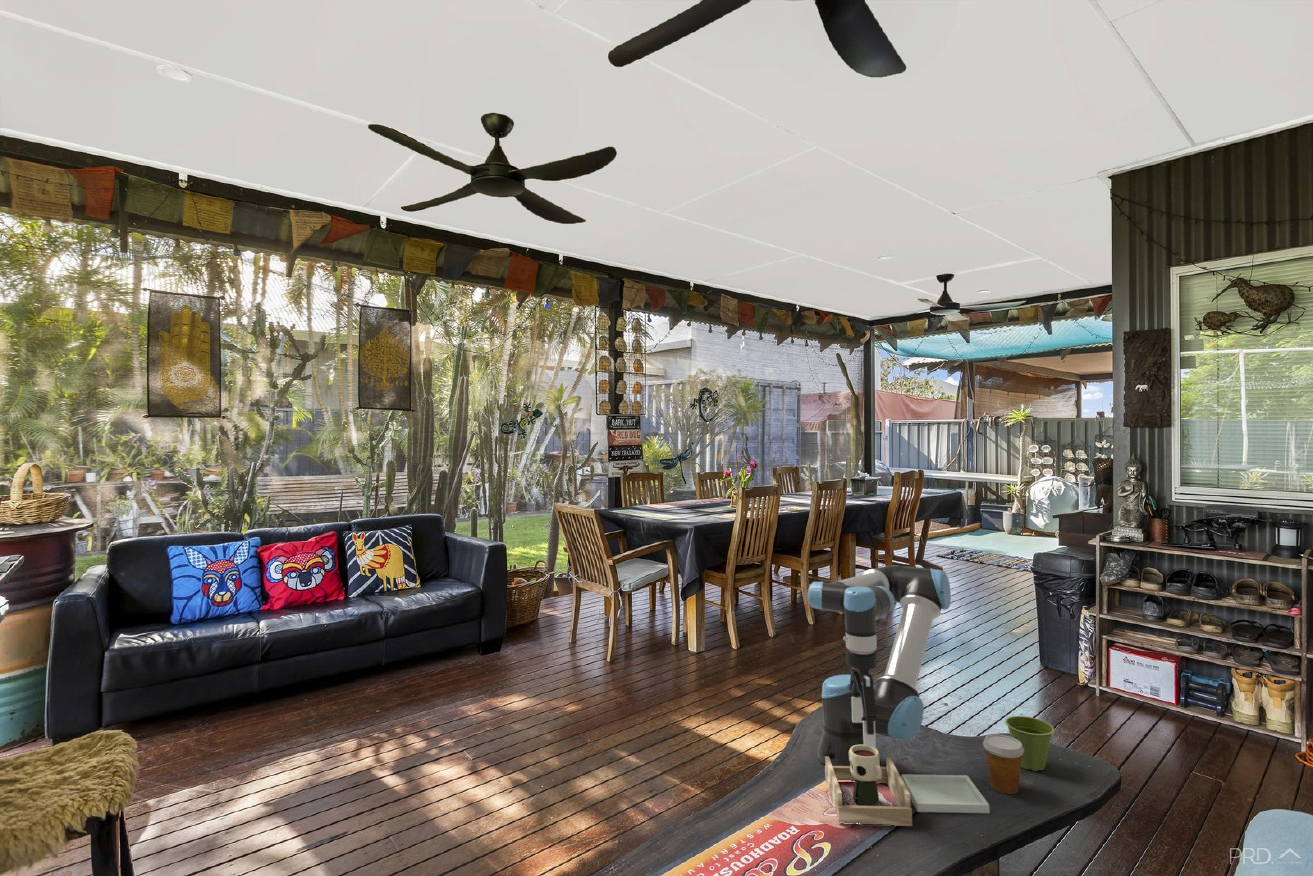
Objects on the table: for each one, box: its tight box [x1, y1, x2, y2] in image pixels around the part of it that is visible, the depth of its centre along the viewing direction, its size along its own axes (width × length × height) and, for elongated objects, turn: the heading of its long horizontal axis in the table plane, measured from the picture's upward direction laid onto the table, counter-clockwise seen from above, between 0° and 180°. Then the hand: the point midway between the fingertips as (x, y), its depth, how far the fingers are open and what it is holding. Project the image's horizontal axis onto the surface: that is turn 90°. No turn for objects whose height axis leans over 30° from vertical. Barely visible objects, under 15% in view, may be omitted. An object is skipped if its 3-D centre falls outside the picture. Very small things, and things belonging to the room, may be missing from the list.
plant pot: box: [1004, 715, 1055, 772], centre depth 182 cm, size 12×12×11 cm
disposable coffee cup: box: [982, 733, 1024, 795], centre depth 171 cm, size 10×10×12 cm
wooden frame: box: [824, 756, 913, 827], centre depth 166 cm, size 20×17×7 cm
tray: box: [900, 773, 990, 814], centre depth 167 cm, size 14×17×2 cm
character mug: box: [849, 745, 882, 806], centre depth 166 cm, size 11×7×13 cm, turn 27°
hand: (863, 733), depth 166 cm, fingers open, 13 cm apart
